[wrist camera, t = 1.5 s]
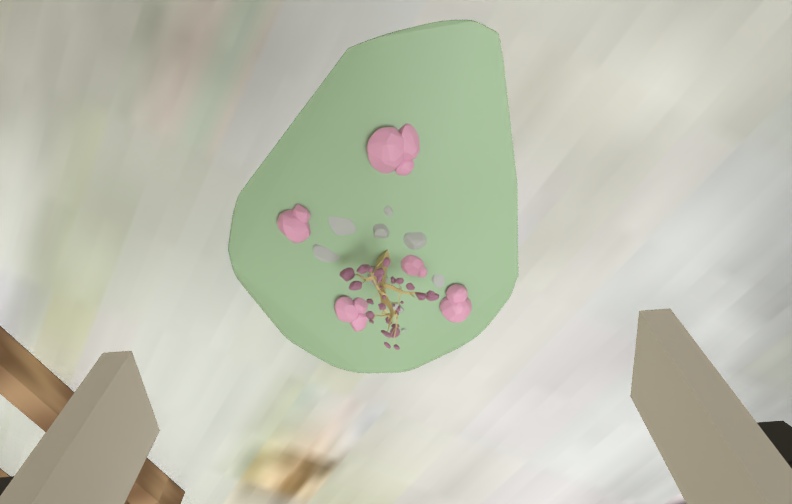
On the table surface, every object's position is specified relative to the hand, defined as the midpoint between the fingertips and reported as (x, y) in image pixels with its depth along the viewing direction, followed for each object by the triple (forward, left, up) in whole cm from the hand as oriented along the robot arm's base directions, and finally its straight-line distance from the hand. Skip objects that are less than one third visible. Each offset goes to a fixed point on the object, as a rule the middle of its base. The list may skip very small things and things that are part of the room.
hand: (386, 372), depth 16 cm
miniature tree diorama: (+4, -3, -25) cm, 26 cm away
